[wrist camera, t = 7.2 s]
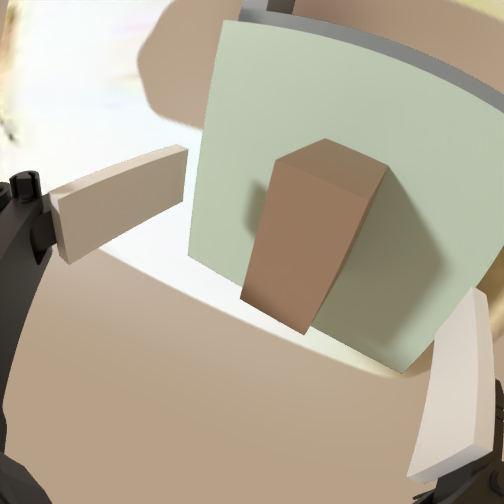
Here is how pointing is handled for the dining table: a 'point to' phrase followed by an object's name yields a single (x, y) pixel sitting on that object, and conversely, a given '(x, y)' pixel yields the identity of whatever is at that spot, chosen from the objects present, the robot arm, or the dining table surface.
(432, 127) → the sliding cover
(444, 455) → the robot arm
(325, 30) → the rectangular frame
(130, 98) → the dining table surface
